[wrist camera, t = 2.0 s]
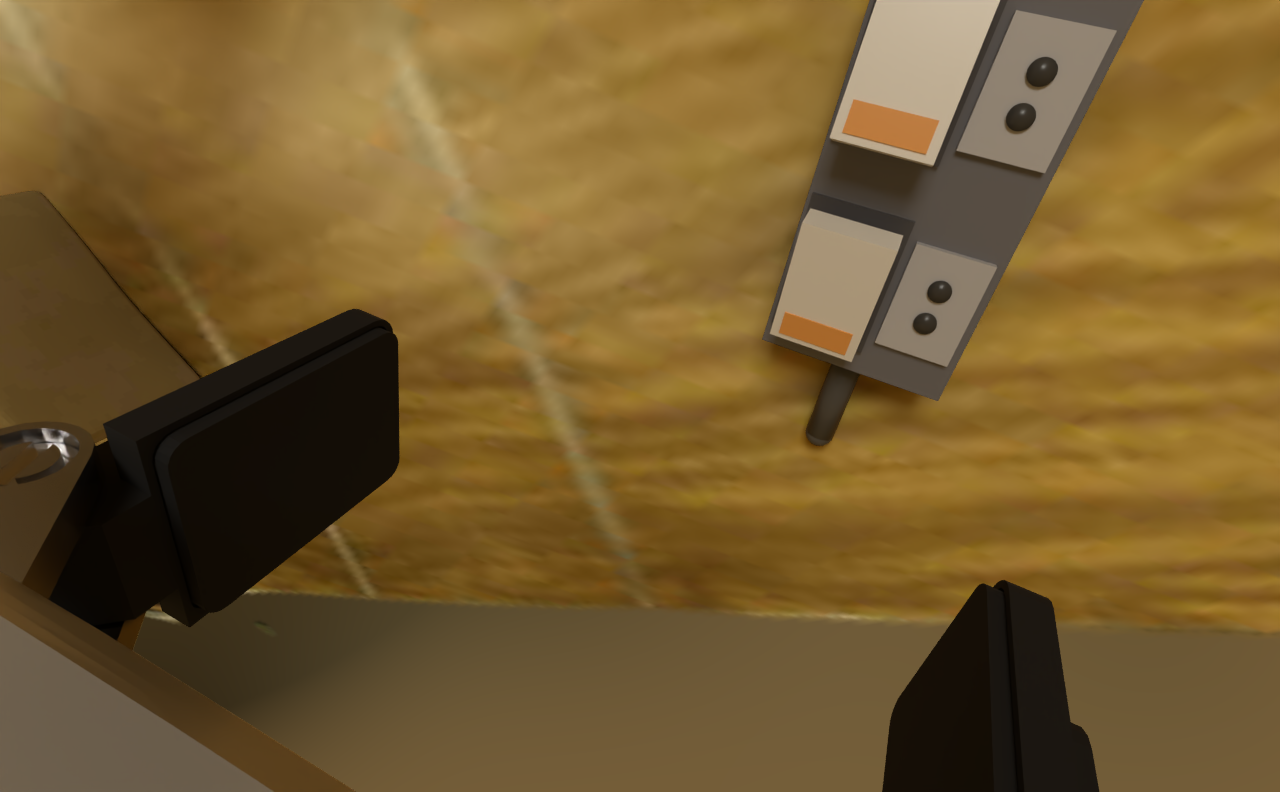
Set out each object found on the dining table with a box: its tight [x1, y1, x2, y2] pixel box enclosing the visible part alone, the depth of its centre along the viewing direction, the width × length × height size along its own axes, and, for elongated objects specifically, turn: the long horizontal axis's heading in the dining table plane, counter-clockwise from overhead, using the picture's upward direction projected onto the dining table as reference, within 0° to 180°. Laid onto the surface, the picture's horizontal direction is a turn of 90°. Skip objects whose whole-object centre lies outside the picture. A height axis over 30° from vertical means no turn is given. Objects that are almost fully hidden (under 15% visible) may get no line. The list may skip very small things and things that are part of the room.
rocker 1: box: [770, 208, 903, 362], centre depth 30 cm, size 6×4×2 cm, turn 169°
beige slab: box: [0, 191, 200, 443], centre depth 58 cm, size 22×10×15 cm, turn 29°
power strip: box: [762, 0, 1144, 446], centre depth 32 cm, size 25×9×5 cm, turn 169°
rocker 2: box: [829, 0, 1000, 167], centre depth 25 cm, size 6×4×2 cm, turn 169°
